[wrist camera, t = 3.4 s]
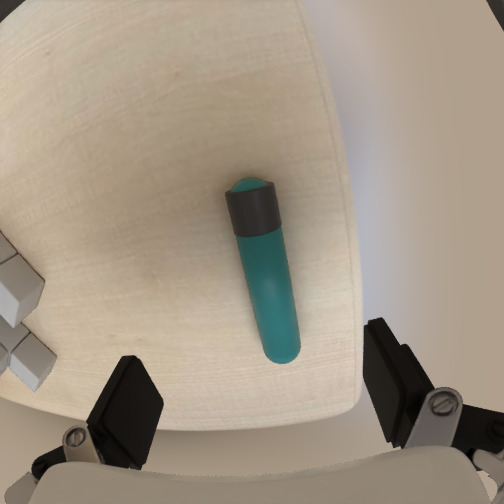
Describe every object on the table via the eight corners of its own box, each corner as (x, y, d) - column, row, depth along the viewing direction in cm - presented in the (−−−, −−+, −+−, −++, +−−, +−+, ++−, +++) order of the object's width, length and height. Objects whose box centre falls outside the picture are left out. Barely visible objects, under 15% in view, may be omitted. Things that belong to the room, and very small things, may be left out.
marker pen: (293, 342, 21) (310, 361, 19) (260, 355, 20) (274, 377, 18) (261, 172, 17) (280, 173, 14) (217, 183, 16) (229, 185, 14)
